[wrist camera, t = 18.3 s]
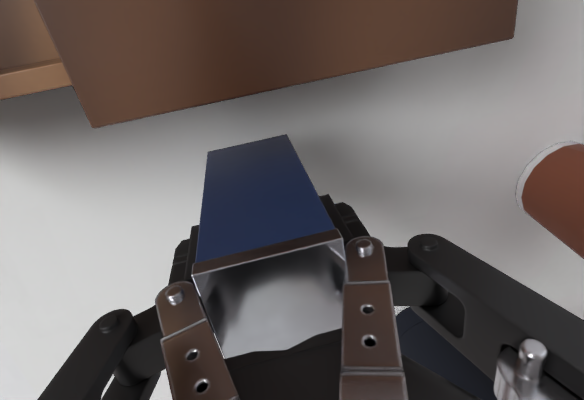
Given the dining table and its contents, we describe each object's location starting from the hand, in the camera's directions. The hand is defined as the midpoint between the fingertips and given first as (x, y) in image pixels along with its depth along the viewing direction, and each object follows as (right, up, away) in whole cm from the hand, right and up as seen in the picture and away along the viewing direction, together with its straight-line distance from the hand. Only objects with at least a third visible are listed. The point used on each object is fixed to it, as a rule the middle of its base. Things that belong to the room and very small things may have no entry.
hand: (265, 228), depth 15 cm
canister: (-1, +2, +5) cm, 6 cm away
